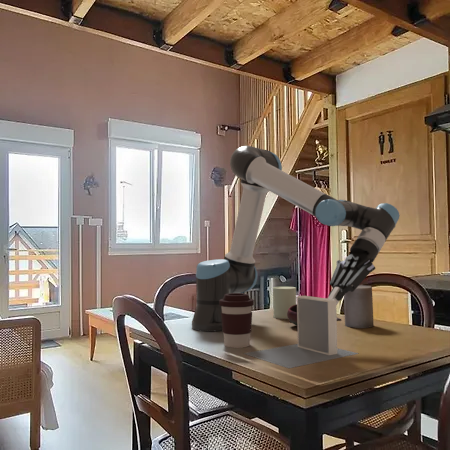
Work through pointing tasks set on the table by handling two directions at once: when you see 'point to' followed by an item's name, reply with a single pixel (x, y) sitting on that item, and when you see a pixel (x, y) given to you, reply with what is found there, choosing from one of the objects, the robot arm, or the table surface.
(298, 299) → the tile
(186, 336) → the table surface
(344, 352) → the mat
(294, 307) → the bowl
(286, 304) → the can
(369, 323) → the pillar candle
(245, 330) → the coffee cup
